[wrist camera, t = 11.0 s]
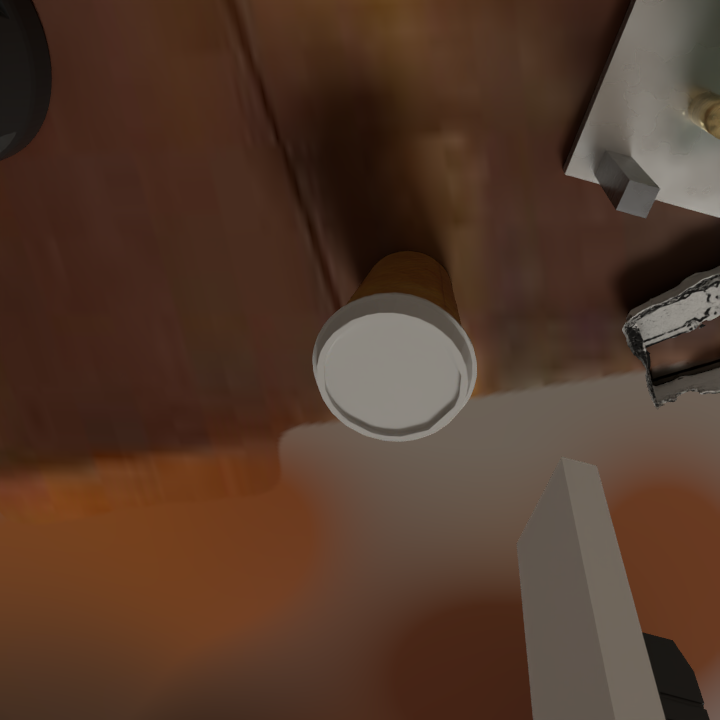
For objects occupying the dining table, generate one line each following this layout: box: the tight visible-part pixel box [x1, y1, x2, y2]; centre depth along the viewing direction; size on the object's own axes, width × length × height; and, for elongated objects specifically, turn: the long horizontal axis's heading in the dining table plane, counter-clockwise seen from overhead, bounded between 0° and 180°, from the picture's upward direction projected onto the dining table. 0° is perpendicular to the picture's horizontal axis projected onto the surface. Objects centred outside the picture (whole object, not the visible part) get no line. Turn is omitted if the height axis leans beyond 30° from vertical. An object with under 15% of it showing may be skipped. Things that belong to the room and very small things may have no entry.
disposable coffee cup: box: [313, 251, 477, 441], centre depth 41 cm, size 10×10×12 cm
